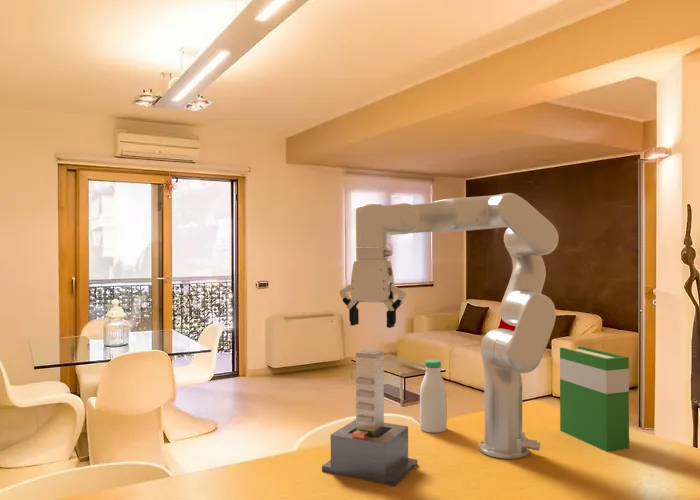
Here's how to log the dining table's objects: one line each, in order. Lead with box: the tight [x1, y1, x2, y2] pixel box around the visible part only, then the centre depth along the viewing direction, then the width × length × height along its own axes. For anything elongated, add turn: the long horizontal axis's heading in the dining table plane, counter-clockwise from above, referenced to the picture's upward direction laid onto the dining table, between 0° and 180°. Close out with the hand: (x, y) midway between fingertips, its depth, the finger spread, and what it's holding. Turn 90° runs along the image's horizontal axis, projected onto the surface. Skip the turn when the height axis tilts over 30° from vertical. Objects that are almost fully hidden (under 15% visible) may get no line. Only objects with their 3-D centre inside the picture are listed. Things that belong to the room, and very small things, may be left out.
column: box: [355, 348, 385, 438], centre depth 133 cm, size 5×6×22 cm
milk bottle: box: [419, 359, 448, 434], centre depth 162 cm, size 8×8×20 cm
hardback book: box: [559, 345, 630, 453], centre depth 153 cm, size 18×7×24 cm, turn 19°
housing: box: [321, 419, 418, 487], centre depth 133 cm, size 19×14×10 cm
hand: (372, 325), depth 134 cm, fingers open, 9 cm apart
